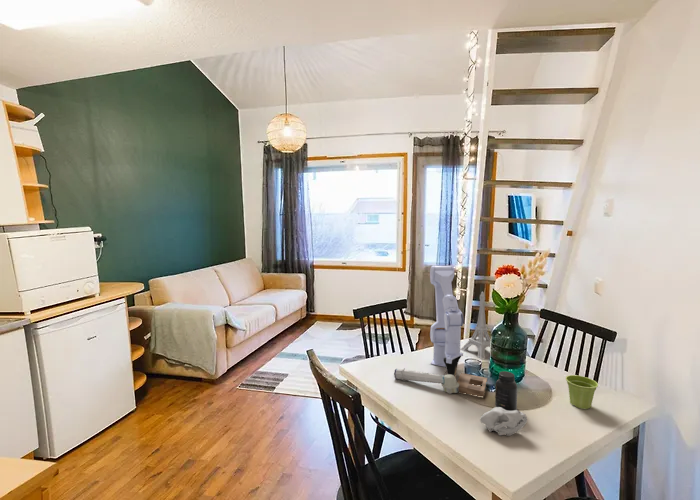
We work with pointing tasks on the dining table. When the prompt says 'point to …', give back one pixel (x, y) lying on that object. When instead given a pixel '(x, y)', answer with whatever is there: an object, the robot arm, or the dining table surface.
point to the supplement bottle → (506, 391)
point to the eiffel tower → (481, 327)
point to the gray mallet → (429, 379)
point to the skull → (504, 420)
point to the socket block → (468, 380)
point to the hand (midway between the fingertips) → (452, 374)
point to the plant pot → (581, 390)
